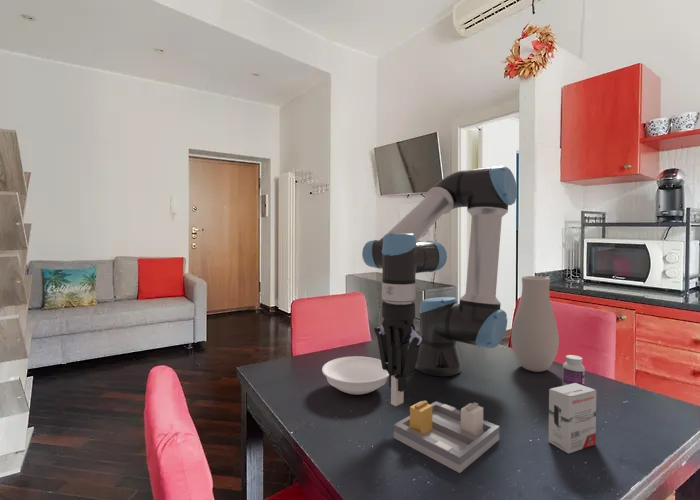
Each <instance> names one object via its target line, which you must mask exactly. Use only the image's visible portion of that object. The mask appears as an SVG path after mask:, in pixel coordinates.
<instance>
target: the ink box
mask: <svg viewBox="0 0 700 500" xmlns="http://www.w3.org/2000/svg"><path fill="white" fill-rule="evenodd" d="M548 392H549V393H548V443H550V444H552V445H553V446H555V447H557V448H558V449H560V450H561V451H563V452H565V453H567V455H568V454H572V453H574V452H577V451H580V450H584V449H587V448H589V447H593V446H595V445H596V444H597V440H596V436H597V433H596V432H597V390H596V389H595V388H592V387H588V386H585V385H584V386H583V385H580V384H577V383H573V384H568V385H564V386H562V385H560V386H556V387H552V388H549V389H548Z"/></svg>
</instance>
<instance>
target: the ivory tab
mask: <svg viewBox="0 0 700 500" xmlns="http://www.w3.org/2000/svg"><path fill="white" fill-rule="evenodd" d="M460 411H461V430H463V431H465V432H468V433H470V434H472V435H475V436H479V435H480V434H481V433H482V432H483V420H484V407H482V406H480V405H479V403H477V402H473V403H471V402H469V403H468V404H466V405H465V406H463V407H462V408H460Z"/></svg>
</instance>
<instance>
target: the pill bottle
mask: <svg viewBox="0 0 700 500" xmlns="http://www.w3.org/2000/svg"><path fill="white" fill-rule="evenodd" d="M585 376H586V367H585V366H584V364H583V357H581V356H579V355H573V354H568V355H566V356H565V362H564V363H563V364H562V385H561V386H564V385H568V384H573V383H577V384H580V385H583V386H585V379H586V377H585Z"/></svg>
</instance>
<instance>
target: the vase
mask: <svg viewBox="0 0 700 500" xmlns="http://www.w3.org/2000/svg"><path fill="white" fill-rule="evenodd" d="M550 283H551V278H550V277H548V276H547V277H546V276H538V275H536V276H535V275H528V276H522V277H521V286H522V287H521V296H520V301H519V305H518V307H517V310H516V313H515V316H514V319H513V323H512V327H511V333H510V335H511V337H510V338H511V339H510V340H511V347H512V350H513V353H514V355H515V358H516V360H517V362H518V364H519V365H520V366H521V367H522V368H523V369H525V370H527V371H529V372H534V373H535V372H536V373H541V372H545V371H547V370H548V369H549V368H550V367H551V366H552V364H553V363H554V361H555V358H556V356H557V354H558V350H559V343H560V337H559V330H558V325H557V321H556V317H555V313H554V310H553V306H552V303H551V297H550V295H551V294H550Z"/></svg>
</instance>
